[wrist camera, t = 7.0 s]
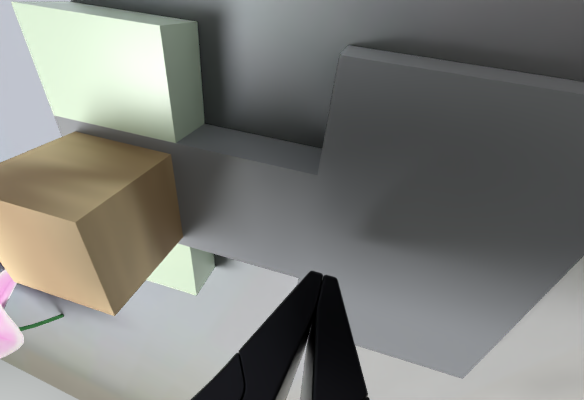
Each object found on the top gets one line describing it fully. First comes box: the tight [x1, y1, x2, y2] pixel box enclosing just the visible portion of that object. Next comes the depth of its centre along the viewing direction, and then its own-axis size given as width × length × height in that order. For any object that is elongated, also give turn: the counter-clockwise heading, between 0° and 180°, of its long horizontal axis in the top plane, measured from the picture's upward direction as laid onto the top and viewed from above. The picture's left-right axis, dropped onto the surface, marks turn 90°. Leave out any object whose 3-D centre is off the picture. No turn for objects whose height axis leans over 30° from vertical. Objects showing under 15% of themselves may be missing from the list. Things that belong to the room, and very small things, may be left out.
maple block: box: [0, 131, 183, 316], centre depth 10 cm, size 4×4×4 cm
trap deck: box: [11, 2, 584, 379], centre depth 12 cm, size 18×12×2 cm, turn 84°
